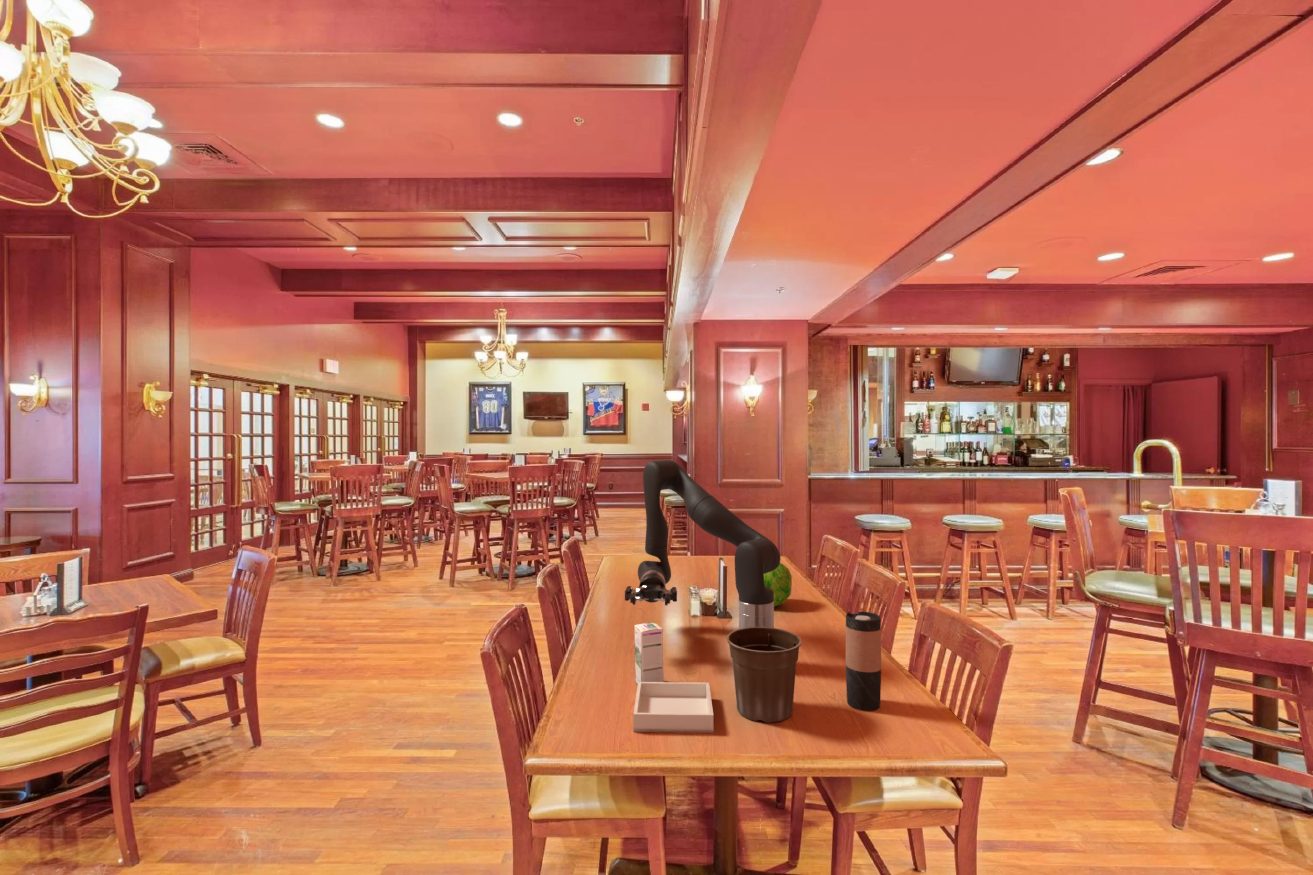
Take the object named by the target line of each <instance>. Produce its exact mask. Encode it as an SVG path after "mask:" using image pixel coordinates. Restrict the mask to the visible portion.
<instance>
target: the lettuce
mask: <svg viewBox="0 0 1313 875" xmlns="http://www.w3.org/2000/svg"><path fill="white" fill-rule="evenodd" d="M792 578H793V577H792V574H791V571H790V569H789V568H788V567H787V566H786V565H784V564H783V563H781V562H780V564H779V566H778V567H777V568H776V569H775V570H773V571H771V572H768V573H765V574H764V585H765V587H768V588H770V589H772V590H773V592H774V608H775V607H778V606H780V605H783V604H784V603H785V602H786V601H787V600H788V599H789V598H790V596H791V595H792V585H793V584H792V583H793V582H792Z"/></svg>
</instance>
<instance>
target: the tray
mask: <svg viewBox="0 0 1313 875" xmlns="http://www.w3.org/2000/svg"><path fill="white" fill-rule="evenodd" d="M635 694H636V695H635V701H634V708H633V713H632V714H633V715H632V716H633V720H632V721H633V733H688V734H689V733H691V734H692V733H697V734H698V733H699V734H700V733H701V734H703V733H704V734H705V733H707V734H708V733H709V734H711V733H712V734H713V733H714V711H713V710H714V709H713V703H712V694H711V688H710V682H690V681H689V682H685V681H684V682H682V681H681V682H680V681H679V682H678V681H677V682H675V681H674V682H672V681H671V682H669V681H668V682H667V681H663V682H638V685H637V688H636V693H635Z"/></svg>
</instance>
